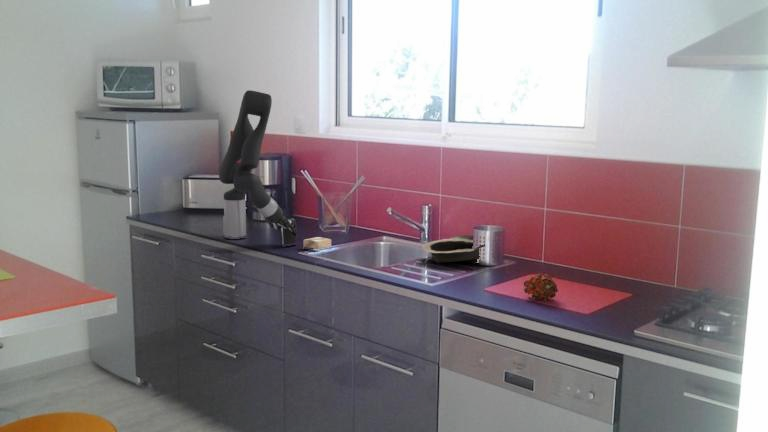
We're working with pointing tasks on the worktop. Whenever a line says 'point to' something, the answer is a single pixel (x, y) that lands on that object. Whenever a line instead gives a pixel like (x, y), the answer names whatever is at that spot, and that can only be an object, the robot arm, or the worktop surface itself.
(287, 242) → the battery
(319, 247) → the oak slab
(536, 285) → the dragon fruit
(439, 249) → the stone bowl
